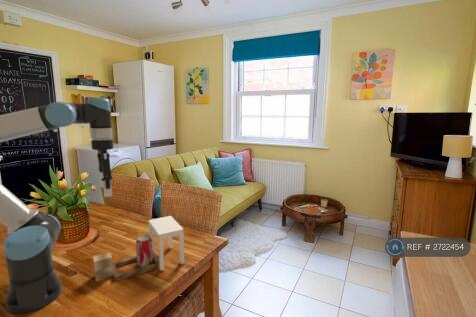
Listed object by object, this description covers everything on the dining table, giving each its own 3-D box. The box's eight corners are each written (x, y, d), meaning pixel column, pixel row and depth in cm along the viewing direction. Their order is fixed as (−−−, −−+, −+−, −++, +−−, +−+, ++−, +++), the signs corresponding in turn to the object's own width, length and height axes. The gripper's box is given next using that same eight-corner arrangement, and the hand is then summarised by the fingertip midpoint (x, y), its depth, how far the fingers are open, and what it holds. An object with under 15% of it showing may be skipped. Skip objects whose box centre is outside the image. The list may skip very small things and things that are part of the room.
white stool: (160, 270, 104) (158, 234, 102) (150, 252, 118) (148, 220, 115) (184, 263, 110) (183, 229, 107) (171, 246, 123) (170, 215, 120)
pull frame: (96, 286, 95) (94, 266, 93) (94, 271, 104) (92, 252, 102) (160, 267, 107) (159, 249, 105) (152, 254, 116) (152, 237, 114)
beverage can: (149, 269, 105) (148, 241, 103) (134, 268, 106) (132, 241, 104) (155, 260, 111) (154, 234, 109) (141, 259, 112) (139, 233, 110)
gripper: (117, 142, 93) (121, 198, 97) (108, 135, 113) (112, 182, 117) (93, 143, 89) (98, 202, 93) (88, 136, 109) (93, 185, 113)
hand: (106, 191), depth 105 cm, fingers open, 13 cm apart
